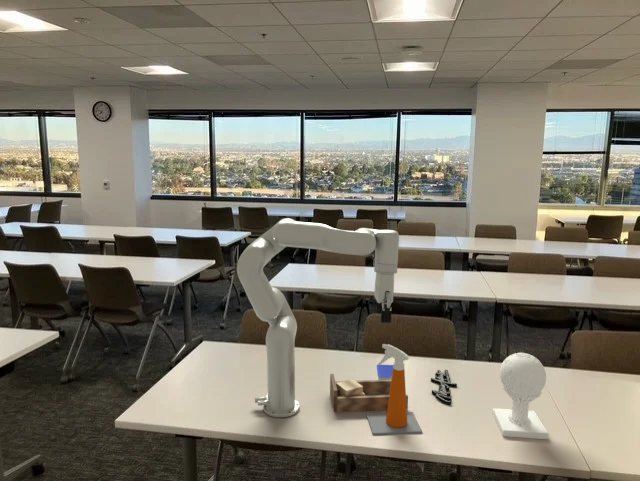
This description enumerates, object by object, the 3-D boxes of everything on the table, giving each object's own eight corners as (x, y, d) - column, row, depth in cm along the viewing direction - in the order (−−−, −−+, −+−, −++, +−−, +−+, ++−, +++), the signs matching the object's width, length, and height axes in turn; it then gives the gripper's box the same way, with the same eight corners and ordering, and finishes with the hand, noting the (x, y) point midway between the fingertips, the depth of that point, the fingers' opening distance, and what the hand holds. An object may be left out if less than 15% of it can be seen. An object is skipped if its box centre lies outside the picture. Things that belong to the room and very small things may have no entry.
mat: (372, 434, 149) (372, 433, 149) (366, 414, 161) (366, 413, 161) (422, 432, 151) (422, 431, 151) (412, 413, 162) (412, 411, 162)
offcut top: (346, 397, 164) (346, 390, 164) (335, 389, 170) (336, 383, 169) (362, 393, 167) (362, 386, 167) (352, 385, 173) (352, 378, 173)
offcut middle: (344, 404, 164) (344, 397, 164) (335, 395, 171) (336, 388, 171) (364, 400, 167) (364, 393, 167) (355, 391, 174) (356, 385, 173)
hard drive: (399, 377, 187) (396, 364, 199) (378, 377, 187) (376, 364, 200) (399, 381, 187) (395, 368, 199) (378, 381, 188) (376, 367, 200)
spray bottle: (378, 412, 161) (380, 339, 157) (409, 419, 157) (412, 344, 153) (372, 423, 155) (374, 346, 151) (405, 430, 151) (408, 352, 147)
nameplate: (462, 403, 167) (433, 400, 169) (461, 407, 168) (433, 404, 169) (453, 370, 194) (428, 368, 196) (453, 373, 194) (428, 371, 196)
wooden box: (333, 412, 163) (333, 390, 162) (330, 393, 176) (330, 373, 174) (407, 409, 165) (408, 388, 164) (398, 391, 178) (399, 371, 176)
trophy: (501, 436, 149) (508, 362, 145) (491, 413, 163) (496, 345, 159) (548, 440, 148) (556, 365, 143) (533, 416, 161) (540, 347, 157)
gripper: (370, 261, 163) (368, 309, 166) (378, 273, 146) (376, 326, 149) (392, 262, 164) (389, 309, 167) (402, 273, 147) (399, 326, 149)
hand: (383, 317), depth 158 cm, fingers open, 9 cm apart
